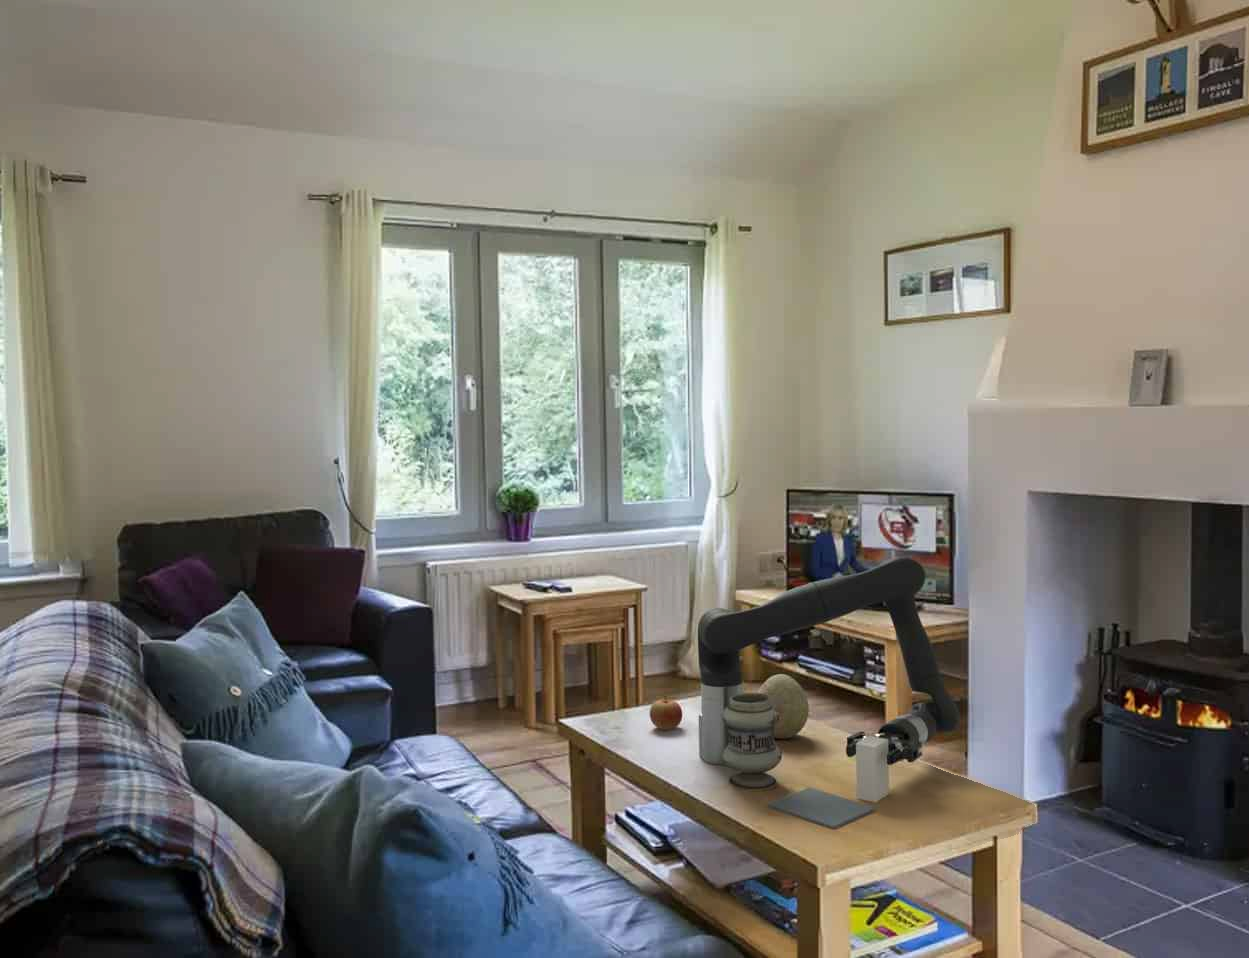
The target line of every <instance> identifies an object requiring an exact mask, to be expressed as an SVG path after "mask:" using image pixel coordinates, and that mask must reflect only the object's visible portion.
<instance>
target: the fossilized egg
mask: <svg viewBox="0 0 1249 958" xmlns="http://www.w3.org/2000/svg"><path fill="white" fill-rule="evenodd" d="M757 693H762V694H766V695H768V696H770V699H771V703H772V706H774V707H775V708H776V709H777V710H778V712H779V721H778V722H777V724H776V725H774V738H775V739H780V740H781V739H789V738H792V737H794V736H796V735H798V734H799V733H800V732H801V731H802V730H803V728H804V727H805V726H806V723H807V720H808V718H809V713H810V706H809V702H808V701H809V700H808V698H807V696H806V692H805V691H804V689H803V688H802V687H801V685H800V684H799V683H798V682H797V681H796V680H795V679H794V678H793V677H791V676H790V675H787V674H784V673H779V674H778V673H777V674H775V675H772V676H770V677H769V678H767V679H766V680H765V682H763V684H762V685H761V686H760V688H759V689H758V691H757Z"/></svg>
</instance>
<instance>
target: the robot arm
mask: <svg viewBox="0 0 1249 958" xmlns="http://www.w3.org/2000/svg"><path fill="white" fill-rule="evenodd" d="M926 577H927V576H926V571H925V568H924V567H923V565H922V564H921V563H920V562H919V561H918V560H916V559H915V558H911V557H909V556H905V555H904V556H903V555H902V556H896V557H891V558H887V559H885V560H884V561H882V562H881V563H880V564H879V565H877V566H875V567H873V568H871V569H868V570H865V571H863V572H859V573H854V574H850V575H848V574H847V575H842V576H835V577H830V578H825V579H820V580H817V581H812V582H810V583H806V584H803V585H800V586H796V587H794V588H791V589H788V590H786V591H785V592H782V593H781V594H780V595H778V596H776V597H774V598H773V599H771V600H769V601H768V602H766V603H764V604H762V605H761V604H760V606H756V607H753V608H749V609H745V610H740V611H734V612H731V611H730V610H728V609H726V608H722V607H721V608H720V607H714V608H711V609H709V610H707V611H706V612H704V613H703V615H702V616H701V617H700V619H699V621H698V626H697V651H698V653H697V654H698V668H699V672H700V689H701V691H700V693H701V694H700V695H701V713H699V714H698V751H699V753H698V754H699V755H698V756H699V758H702V759H703V761H704V762H707V763H710V764H715V765H727V764H726V763H725V761H724V759H723V752H724V750H725V748H726V747H727V746H728V742H729V741H728V726H727V725H726V724H725V723H724V721H723V719H722V713H723V711H724V710H725V708H726V707H728V706H729V703H730V702H729V701H730V697H731V696H733V695H736V694H740V693H744V685H743V683H744V681H743V680H744V678H743V677H744V676H743V668H742V665H741V660H740V651H741V650H743V649H745V648H748V647H749V646H752V645H754V644H757V643H759V642H762V641H764V640H767V639H769V638H773V637H777V636H782V635H786V634H790V633H793V632H796V631H801V630H805V629H808V628H811V627H815V626H819V625H822V624H825V623H828V622H831V621H833V620H836V619H839V618H841V617H844V616H846V615H849V614H852V613H854V612H856V611H858V610H860V609H863V608H865V607H869V606H870V605H874V604H878V603H879V604H880V603H883V602H884V604H885V606H886V608H887V611H888V614H889V616H890V619H891V622H892V625H893V627H894V631H895V634H896V638H897V640H898V641H897V642H898V644H899V647H900V652H901V655H902V660H903V663H904V668H905V672H906V675H907V676H906V677H907V679H908V683H909V686H910V689H911V690H912V692H915V693H916V692H917V693H921V694H927V695H929V696H930V697H931V699H932V700H930V701H923V702H918V703H915V704H913V705H911V706H910V708H909V710H908V712H907V713H905V714H902V715H899V716H897V717H895V718H893V719H891V720H890V721H888V722H886V723H884V724H883V725H881V727H880V728H879V730H878V731H877V733H876V734H870V735H866V733H865V732H864V731H859V732H856V733H853V734H852V735H849V736H848V737H846V746H845V754H846V756H847V757H848V758H852V757H854V756H856V743H858V742H860V741H862V740H863V739H865V738H867V737H869V736H873V737H878V738H884V739H888V754H887V765H889V766H893V765H894V764H896V763H897V764H898V762H901V763H902V762H904V761H905V760H907V761H906V762H908V763H914V762H915V761H917V760H918V759H919V758H920V757H922V756H923V745H925V744H926V743H928V742H929V741H930V740H931V739H933V737H934V736H935V734H936V735H937V734H945V733H953V732H955V731H956V730H957V729H958V728H959V725H960V723H961V717H960V716H961V715H960V711H959V708H958V707H957V705H956V703H955V701H954V699H953V697H952V695H951V694H950V691H949V690H948V688H947V687H946V684H945V682H944V681H943V678H942V675H941V672H940V666H939V664H938V659H937V655H936V653H935V650H934V647H933V645H932V644H933V643H932V642H931V640H930V637H929V636H928V634H927V632H926V630H925V628H924V625H923V623H922V621H921V618H920V615H919V612H918V608H917V605H916V604H917V603H916V598H915V596H916V594H918V593H919V592H920V591H921V590H922V588H923V587H924V585H925V581H926Z"/></svg>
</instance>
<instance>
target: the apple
mask: <svg viewBox="0 0 1249 958" xmlns="http://www.w3.org/2000/svg"><path fill="white" fill-rule="evenodd" d="M663 698H664V699H659V700H655V701H654V702H653V703H652V704H651V705H650V709H649V717H650V721H651V723H652V724H653V726H654V727H656V728H658V729H660V730H673V729H675V728H677V727H678V726H679V725H680V724H681V722H682V719H683V710H682V707H681V706H680V704H679V703H678V702H677V701H675V700H671V699H668V698H667V696H666V695H664V696H663Z"/></svg>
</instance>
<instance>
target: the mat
mask: <svg viewBox="0 0 1249 958" xmlns="http://www.w3.org/2000/svg"><path fill="white" fill-rule="evenodd" d="M766 806H767V807H769V808H772V809H774V810H777V811H780V812H784V813H786V814H788V815H791V816H795V817H797V818H800V819H803V820H807V821H809V822H812V823H815V824H817V825H820V826H824V827H827V828H830V829H837V828H839V827H842V826H843V825H845V824H847V823H850V822H852V821H855V820H857V819H860V818H862V817H864V816H867V815H869V814H871V813H873V812H876V810H877V807H875V806H872V805H868V804H865V803H861V802H859V801H855V800H852V799H849V798H846V797H842V796H839V795H836V794H833V793H830V792H826V791H823V790H821V789H817V788H814V787H810V786H809V787H807V788H805V789H801V790H800V791H797V792H794V793H791V794H788V795H786V796H783V797H780V798H779V799H776V800H773V801H771V802H768V803H767V804H766Z"/></svg>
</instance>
